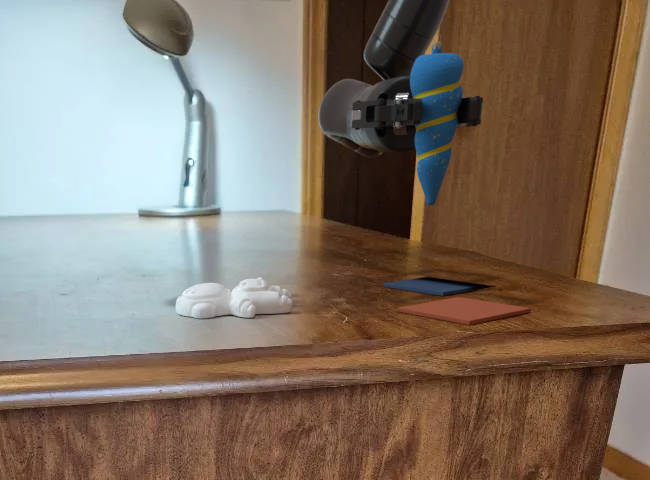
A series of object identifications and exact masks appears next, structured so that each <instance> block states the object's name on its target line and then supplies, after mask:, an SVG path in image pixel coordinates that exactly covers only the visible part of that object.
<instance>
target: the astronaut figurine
mask: <svg viewBox="0 0 650 480" xmlns="http://www.w3.org/2000/svg"><path fill="white" fill-rule="evenodd" d="M293 304H294V303H293V295H292V292H290V291H289V290H288V289H286V288H282V289H281V287H280V285H272V284H270V283H269V282H268V281H267V280H265V278H264V277H261V276H259V277H257V278H246V279H243V280H241V281H239V283H238V285H236V286H234V288H233V289H232V291H231V290H230V289H229V288H226V286H225V285H223V284H221V283H217V282H204V283H203V282H202V283H197V284H195V285H192V286H190V287H188V288H186V289H185V290H183V292H182V293H181V295H179V296H178V297H177V298H176V301H175V312H176V314H177V315H179V316H183V317H188V318H189V317H191V318H194V319H211V318H215V317H219V316H221V317H222V316H227V315H233V316H235V317H239V318H245V319H252V318H255V315H266V314H268V315H274V314H288V313H290V312H291V310H292V308H293Z"/></svg>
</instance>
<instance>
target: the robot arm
mask: <svg viewBox="0 0 650 480" xmlns="http://www.w3.org/2000/svg"><path fill="white" fill-rule="evenodd" d="M449 3H450V0H388V1H387V2H386V5H385V7H384V9H383V11H382V13H381V15H380V16H379V19H378V20H377V23H376V24H375V27H374V29H373V31H372V33H371V35H370V37H369V39H368V41H367V43H366V45H365V48H364V49H363V59H364V61H365V63H366V65H368V67H369V68H371V70H372V71H374V72H375V73H376V74H377V75H378V76H379V77H380V78H381V79H382V80H381V81H379V82H377V83H375V84H374V85H372V84H370V83H366V82H364V81H360V80H357V79H354V78H343V79H341V80H339V81H336V82H335V83H334V84H333V85H332V86H331V87H330V88H329V89H328V90H327V91H326V93H325V94H324V96H323V98H322V100H321V102H320V104H319V108H318V117H317V118H318V124H319V128H320V130H321V132H322V133H323V134H324V135H325V136H327V137H328V138H329V139H331V140H333V141H334V142H337V143H339V144H340V145H343V146H344V147H347V148H348V149H350V150H352V151H353V152H355V153H357V154H360V155H362V156H363V157H366V158H369V159H372V158H377V157H379V156H381V155H382V154H383V153H396V154H397V153H398V154H405V153H410V152H413V151H416V148H415V134H416V128H415V125H419V124H420V122H421V112H422V99H421V98H414V99H413V96H412V92H411V88H410V75H411V71H412V67H413V65H414V62H415V60H416V59H417V58H418V57H419V56H421V55H426V53H427V51H428V49H429V47H430V46H431V45H432V43H433V41H434V40H433V38H434V39H435V37H436V34H438V31H439V29H440V27H441V25H442V22H443V20H444V18H445V15H446V12H447V10H448V8H449ZM483 103H484V97H481V96H480V95H475V96H468V97H466V95H463V96H462V100H461V103H460V106H459V108H458V110H457V112H456V115H457V120H458V124H457V128H461V127H463V126H466V128H471V127H478V126H479V125H480V126H481V125H482V112H483V111H482V110H483Z"/></svg>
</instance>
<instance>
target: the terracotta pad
mask: <svg viewBox="0 0 650 480" xmlns="http://www.w3.org/2000/svg"><path fill="white" fill-rule="evenodd" d="M531 311H532V308H531V307H527V306H526V307H525V306H520V305H514V304H513V305H512V304H506V303H501V302H493V301H487V300H481V299H474V298H469V297H461V296H457V297H456V296H455V297H451V298H445V299H444V298H443V299H439V300H433V301H428V302H422V303H417V304H409V305H405V306H399V307H397V312H398V313H403V314H409V315H413V316H419V317H424V318H429V319H435V320H440V321H445V322H451V323H454V324H455V323H457V324H461V325H467V326H472V325H476V324H481V323H485V322H491V321H495V320H500V319H501V320H502V319H504V318H510V317H515V316H519V315H524V314H530V313H531Z"/></svg>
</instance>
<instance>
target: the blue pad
mask: <svg viewBox="0 0 650 480" xmlns="http://www.w3.org/2000/svg"><path fill="white" fill-rule="evenodd" d="M383 287H384V288H390V289H397V290H401V291H402V290H403V291H409V292H415V293H421V294H428V295H433V296H440V297H444V296H450V295H451V296H452V295H457V294H462V293H468V292H474V291H479V289H480V290H485V288H486V289H491V287H492V288H496V287H497V286H496V285H491V284H483V283H476V282H469V281H462V280H454V279H448V278H447V279H446V278H441V277H433V276H424V277H418V278H410V279H404V280H403V279H402V280H396V281H390V282H389V281H388V282H384V283H383Z"/></svg>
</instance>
